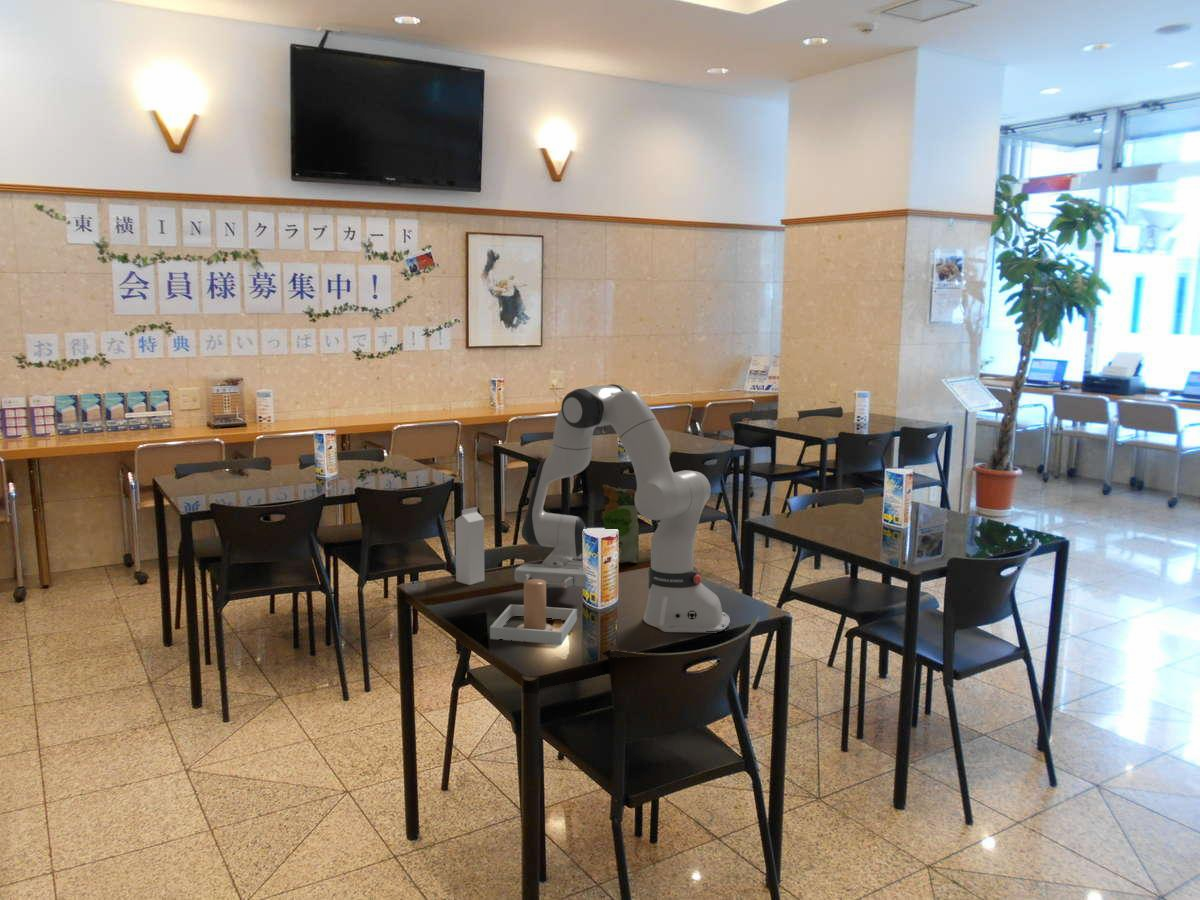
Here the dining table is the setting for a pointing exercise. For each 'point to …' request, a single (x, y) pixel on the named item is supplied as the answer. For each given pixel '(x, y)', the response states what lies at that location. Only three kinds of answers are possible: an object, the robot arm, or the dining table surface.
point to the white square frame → (532, 634)
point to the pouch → (622, 520)
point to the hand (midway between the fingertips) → (545, 583)
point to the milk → (469, 547)
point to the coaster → (548, 627)
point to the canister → (535, 604)
